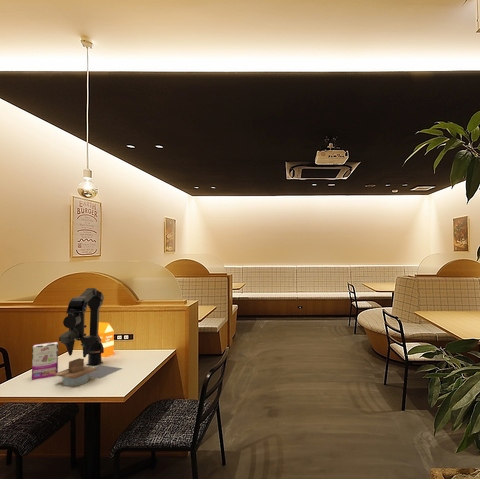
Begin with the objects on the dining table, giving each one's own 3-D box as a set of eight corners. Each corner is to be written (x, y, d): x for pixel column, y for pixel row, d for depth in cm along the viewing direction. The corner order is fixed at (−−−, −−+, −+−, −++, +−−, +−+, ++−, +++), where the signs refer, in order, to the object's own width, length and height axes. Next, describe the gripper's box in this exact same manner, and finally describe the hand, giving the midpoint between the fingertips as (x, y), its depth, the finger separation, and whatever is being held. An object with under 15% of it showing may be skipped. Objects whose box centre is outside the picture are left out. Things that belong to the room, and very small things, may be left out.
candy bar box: (57, 373, 168) (58, 341, 169) (57, 376, 163) (58, 343, 164) (32, 377, 163) (33, 344, 164) (31, 380, 158) (32, 346, 159)
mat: (75, 375, 165) (75, 374, 165) (99, 365, 180) (99, 365, 180) (99, 379, 159) (100, 378, 159) (122, 369, 174) (122, 368, 174)
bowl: (57, 384, 152) (57, 375, 152) (76, 377, 162) (77, 367, 163) (74, 387, 148) (75, 377, 148) (93, 379, 158) (93, 370, 159)
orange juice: (103, 357, 195) (104, 324, 196) (93, 356, 199) (93, 323, 200) (113, 354, 202) (114, 321, 203) (103, 352, 206) (104, 320, 207)
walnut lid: (54, 375, 152) (54, 362, 152) (77, 367, 164) (77, 355, 164) (74, 378, 147) (75, 365, 148) (97, 369, 159) (97, 357, 160)
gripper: (49, 325, 155) (48, 359, 154) (78, 328, 148) (77, 363, 147) (69, 321, 165) (68, 352, 164) (97, 323, 158) (97, 356, 157)
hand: (77, 356), depth 158 cm, fingers open, 9 cm apart
